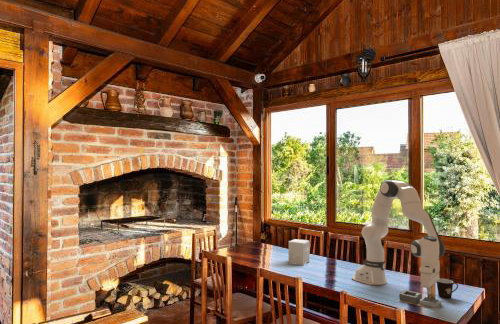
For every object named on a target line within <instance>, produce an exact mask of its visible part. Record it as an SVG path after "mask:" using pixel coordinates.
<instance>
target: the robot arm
mask: <svg viewBox="0 0 500 324" xmlns="http://www.w3.org/2000/svg"><path fill="white" fill-rule="evenodd" d="M395 199H399V201H400V206H401V210H402V213H403V216H405V217H406V218H407V219H409V220H411V221H414V222H417V223H419V224H421V225H422V226H423V227H424V229H425V231H426V234H427V235H424V236H422V237H421V238H419V239H415V240H413V241H411V243H410V246H409V248H410V252H411V254H412V255H413V256H414V257H416V258H421V262H420V263H421V264H420V267H419V272H420V285H421V288H423V289H424V288H425V289H426V292H427V293H428V294H431V293H432V290H431V286H432V285H434V284H435V285H436V284H437V282H438V281H439V279H440V271H441V268H440V267H441V266H440V263H441V262H440V258H442V257H443V256H444V254H445V253H446V247H445V244H444V242H443V240H442V239H441V238H440V235H439V232H438V230H437V227H436V225H435V223H434V221H433V219H432V217H431V215H430V214H429V213H428V212H427V211H425V209H424V207H423V205H422V202H421V198H420V196H419V193H418V191H417V189H416V188H415V187H414V186H413V185H412V184H410V183H408V182H406V181H400V180H390V179H389V180H383V181H382V182H381V183H380V186H379V188H378V190H377V193H376V195H375V198H374V201H373V205H372V208H371V212H370V213H371V216H372V217H371V222H370V223H368V224H366V225H364V226H363V227H362V230H361V235H362V236H361V237H363V239H364V242H365V245H366V246H365V248H366V259H364V260H363V265H361V266H359V267H358V268H357V269H356V270H355V274H354V275H352V276H351V280H352V279H353V281H357V282H359V283H363V284H366V285H370V286H373V285H374V286H375V285H379V286H380V285H381V286H382V285H386V284H387V283H388V282H387V278H386V277H387V276H386V271H385V270H386V260H385V248H384V246H383V245H382V239H383V238H385V237H386V236H387V235H388V233H389V227H388V226H389V216H390V213H391V211H392V210H391V209H392V206H393V202H394V200H395Z"/></svg>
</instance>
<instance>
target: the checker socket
mask: <svg viewBox="0 0 500 324" xmlns="http://www.w3.org/2000/svg"><path fill="white" fill-rule="evenodd" d="M398 294H399V295H398V297H399V299H398V300H401V301H400V302H402V301H405V302H404V303H406V302H409V303H408V304H410V303H413V304H412V305H414V304H417V303H418V302H420V301H419V300H421V299H422V298H423V297H422V295H423V294H422V293H421V292H416V291H411V290H407V289H405V290H403V291H402V292H400V293H398ZM407 294H408V295H407ZM411 295H412V296H411Z"/></svg>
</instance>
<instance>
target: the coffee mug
mask: <svg viewBox="0 0 500 324" xmlns="http://www.w3.org/2000/svg"><path fill="white" fill-rule="evenodd" d="M455 284H456V287H455V289H453V287H454V285H455ZM436 286H437V287H436V288H437V294H438V295H437V296H438V297H439V298H441V299H446V300H451V299H452V298H453V297H452V296H453V295H452V294H453V293H454V292H456V291H457V289H458V288H459V285H458V283H456V282H454V281H453V280H451V279H448V278H439V281H438V282H436Z"/></svg>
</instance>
